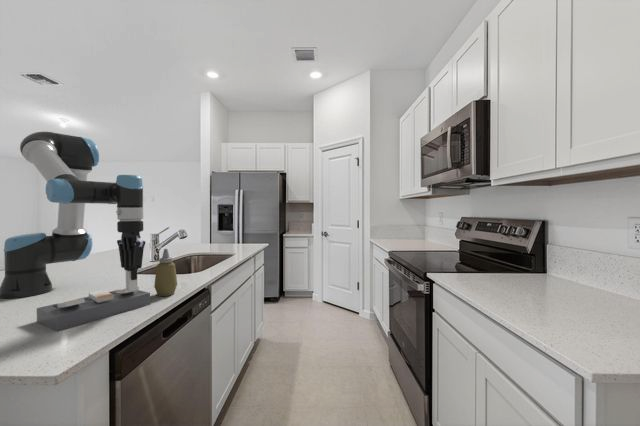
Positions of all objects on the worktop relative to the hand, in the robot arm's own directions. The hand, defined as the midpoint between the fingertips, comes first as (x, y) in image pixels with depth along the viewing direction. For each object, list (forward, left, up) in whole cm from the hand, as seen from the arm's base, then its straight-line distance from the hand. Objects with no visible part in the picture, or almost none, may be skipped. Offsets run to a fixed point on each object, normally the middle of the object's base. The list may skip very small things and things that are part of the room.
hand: (131, 288), depth 101 cm
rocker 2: (-3, 0, -1) cm, 3 cm away
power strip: (-8, -8, -6) cm, 13 cm away
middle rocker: (-3, -8, -1) cm, 9 cm away
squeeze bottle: (-4, +15, -7) cm, 17 cm away
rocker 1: (-3, -16, -1) cm, 16 cm away
